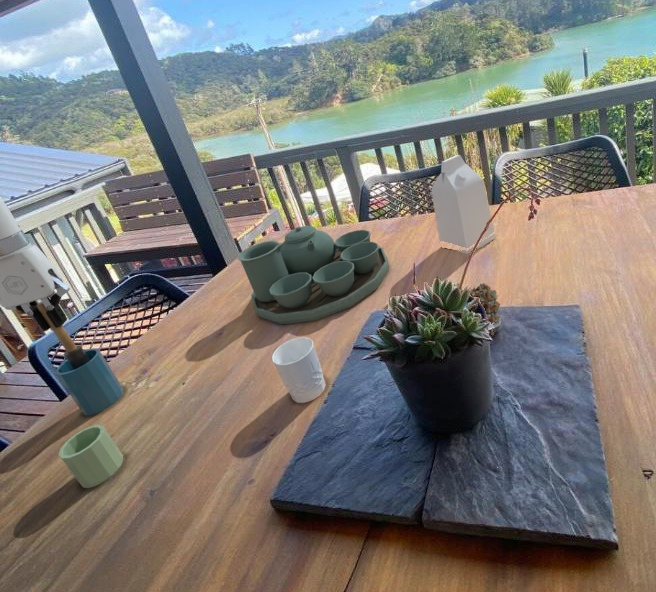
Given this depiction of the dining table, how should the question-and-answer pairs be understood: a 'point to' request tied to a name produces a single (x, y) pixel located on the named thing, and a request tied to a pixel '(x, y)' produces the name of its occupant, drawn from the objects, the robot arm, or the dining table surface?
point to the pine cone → (487, 301)
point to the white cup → (299, 369)
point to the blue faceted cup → (91, 383)
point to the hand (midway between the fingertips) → (55, 325)
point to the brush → (66, 342)
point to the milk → (461, 205)
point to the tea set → (312, 274)
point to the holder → (91, 456)
